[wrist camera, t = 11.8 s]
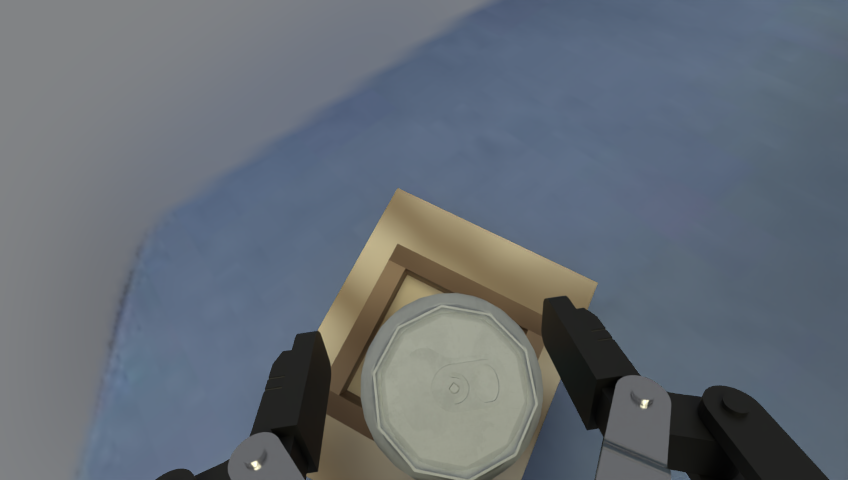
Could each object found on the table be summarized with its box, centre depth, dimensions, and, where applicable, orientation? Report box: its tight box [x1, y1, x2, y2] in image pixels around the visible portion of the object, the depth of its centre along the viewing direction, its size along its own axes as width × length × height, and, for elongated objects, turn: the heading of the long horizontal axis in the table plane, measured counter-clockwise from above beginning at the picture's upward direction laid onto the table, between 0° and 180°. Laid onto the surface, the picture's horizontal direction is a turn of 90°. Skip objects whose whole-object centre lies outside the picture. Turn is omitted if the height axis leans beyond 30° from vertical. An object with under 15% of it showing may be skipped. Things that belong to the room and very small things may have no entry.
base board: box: [306, 188, 598, 480], centre depth 20 cm, size 16×13×4 cm
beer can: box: [361, 293, 543, 480], centre depth 15 cm, size 5×5×12 cm
